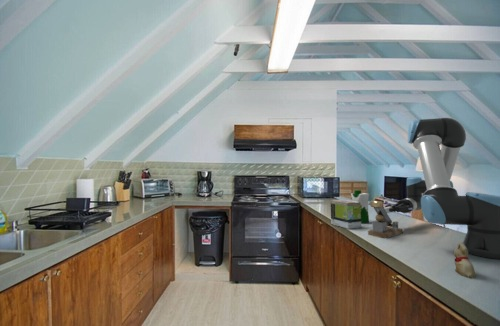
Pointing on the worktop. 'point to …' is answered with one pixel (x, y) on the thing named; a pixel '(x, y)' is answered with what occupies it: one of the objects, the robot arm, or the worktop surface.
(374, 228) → the grey block
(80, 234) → the worktop surface
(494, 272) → the worktop surface
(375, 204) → the lever
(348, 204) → the tea box
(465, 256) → the chocolate bunny
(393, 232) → the bench
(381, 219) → the walnut
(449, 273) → the worktop surface
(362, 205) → the milk carton
